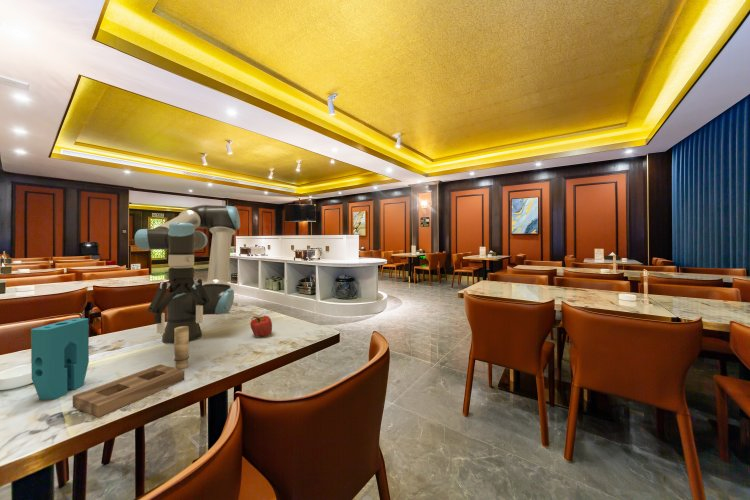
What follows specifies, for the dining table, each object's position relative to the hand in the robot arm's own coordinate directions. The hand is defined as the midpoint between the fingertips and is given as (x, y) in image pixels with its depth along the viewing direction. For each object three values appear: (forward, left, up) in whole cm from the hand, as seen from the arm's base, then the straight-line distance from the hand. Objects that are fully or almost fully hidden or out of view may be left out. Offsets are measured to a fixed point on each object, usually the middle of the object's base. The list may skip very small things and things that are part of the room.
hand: (181, 327), depth 102 cm
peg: (0, 0, -14) cm, 14 cm away
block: (-15, -25, -14) cm, 32 cm away
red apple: (0, +38, -14) cm, 41 cm away
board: (+4, -17, -14) cm, 22 cm away
